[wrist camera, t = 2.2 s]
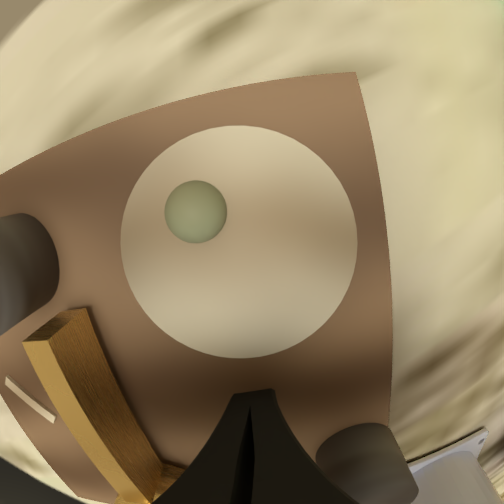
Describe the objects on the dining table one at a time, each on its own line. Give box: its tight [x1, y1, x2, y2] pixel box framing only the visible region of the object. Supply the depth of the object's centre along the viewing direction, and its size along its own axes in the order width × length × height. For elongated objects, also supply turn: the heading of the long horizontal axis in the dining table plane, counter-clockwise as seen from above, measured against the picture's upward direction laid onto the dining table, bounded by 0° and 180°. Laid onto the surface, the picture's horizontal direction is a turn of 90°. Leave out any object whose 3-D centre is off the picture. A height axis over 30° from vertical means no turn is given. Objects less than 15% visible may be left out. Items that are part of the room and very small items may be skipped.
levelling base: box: [0, 72, 419, 504], centre depth 9 cm, size 19×19×5 cm
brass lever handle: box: [22, 308, 185, 504], centre depth 9 cm, size 12×4×3 cm, turn 11°
